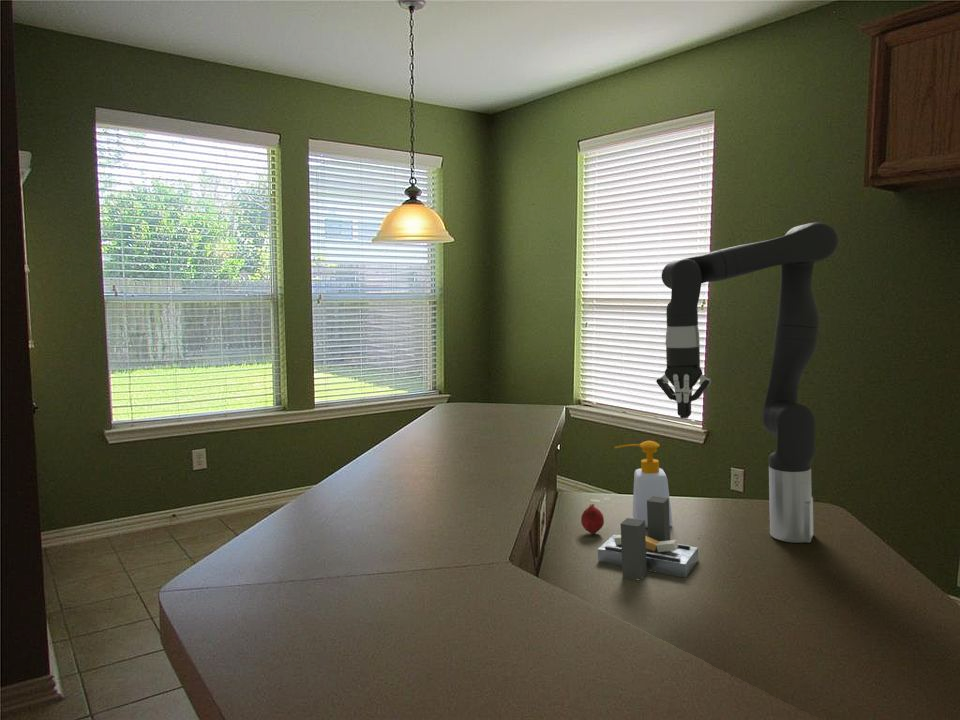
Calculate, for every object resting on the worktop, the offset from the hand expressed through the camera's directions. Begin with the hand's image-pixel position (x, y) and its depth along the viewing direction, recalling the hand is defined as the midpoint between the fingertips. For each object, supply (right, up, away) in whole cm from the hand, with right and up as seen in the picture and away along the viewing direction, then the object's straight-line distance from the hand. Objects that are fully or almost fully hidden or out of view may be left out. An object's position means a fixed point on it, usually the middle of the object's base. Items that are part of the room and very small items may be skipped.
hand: (684, 417), depth 152 cm
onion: (-19, -31, +13) cm, 39 cm away
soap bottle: (-5, -30, +19) cm, 36 cm away
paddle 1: (-14, -29, -3) cm, 33 cm away
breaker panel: (-10, -32, -5) cm, 34 cm away
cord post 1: (-15, -33, -12) cm, 38 cm away
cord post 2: (-5, -32, +2) cm, 32 cm away
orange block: (-10, -29, -6) cm, 32 cm away
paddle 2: (-6, -29, -8) cm, 31 cm away
